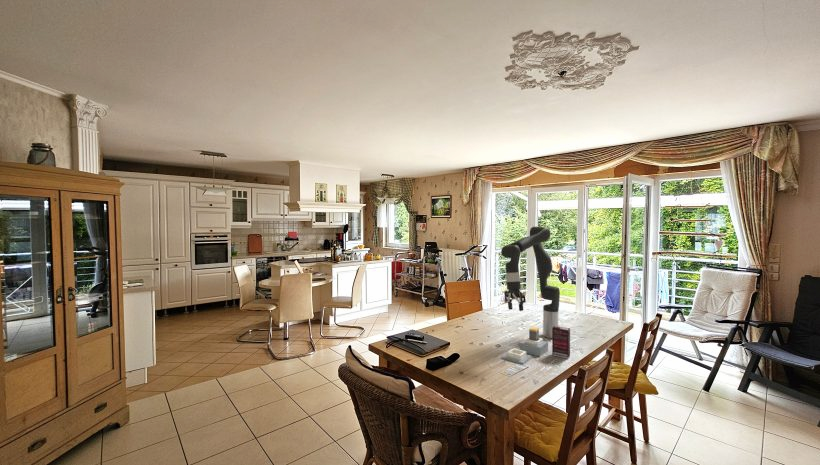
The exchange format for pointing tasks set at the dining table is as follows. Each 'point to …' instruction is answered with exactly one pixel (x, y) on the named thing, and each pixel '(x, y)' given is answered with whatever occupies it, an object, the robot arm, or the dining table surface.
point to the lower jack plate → (517, 356)
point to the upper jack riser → (534, 346)
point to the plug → (534, 334)
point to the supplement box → (561, 341)
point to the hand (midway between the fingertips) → (515, 310)
